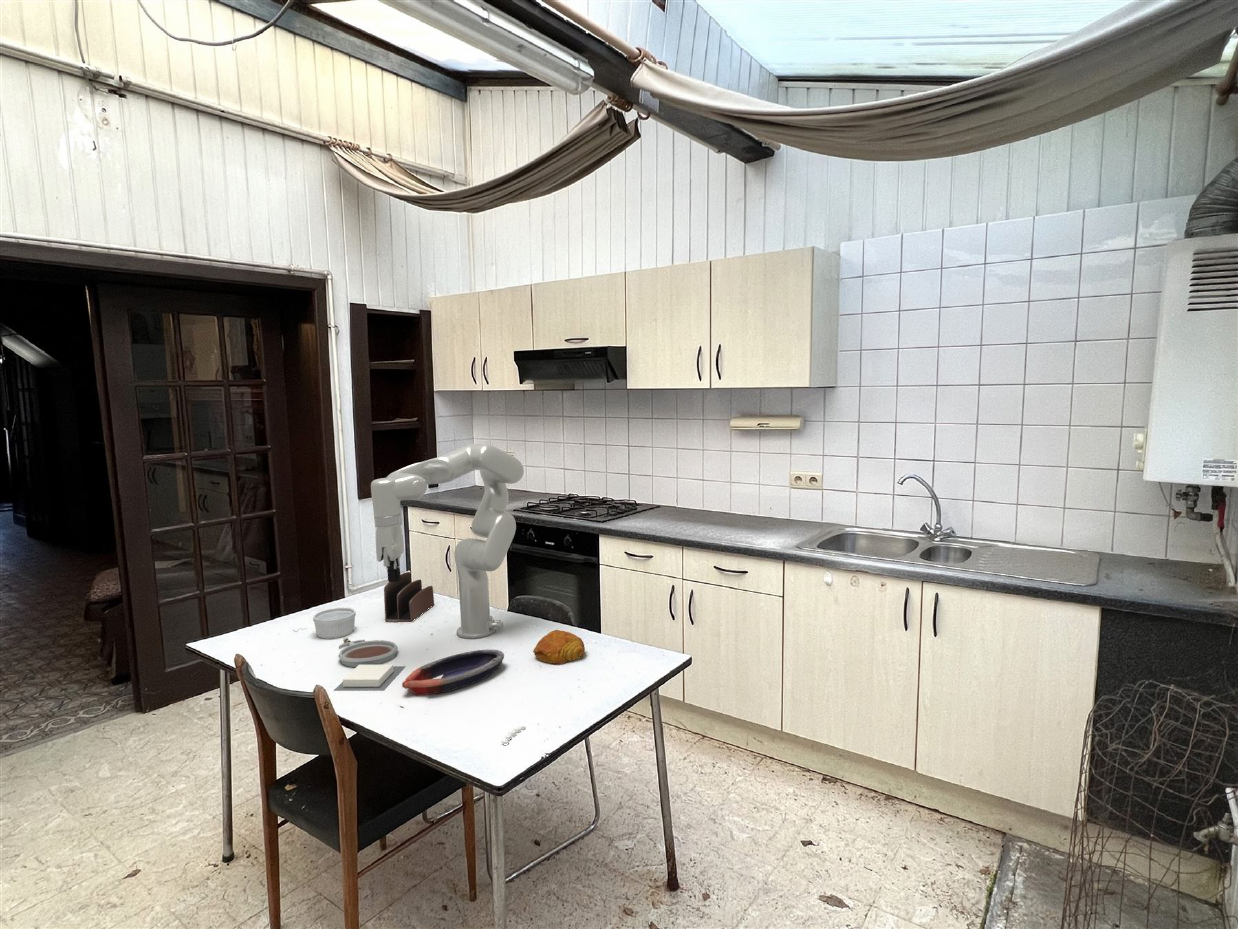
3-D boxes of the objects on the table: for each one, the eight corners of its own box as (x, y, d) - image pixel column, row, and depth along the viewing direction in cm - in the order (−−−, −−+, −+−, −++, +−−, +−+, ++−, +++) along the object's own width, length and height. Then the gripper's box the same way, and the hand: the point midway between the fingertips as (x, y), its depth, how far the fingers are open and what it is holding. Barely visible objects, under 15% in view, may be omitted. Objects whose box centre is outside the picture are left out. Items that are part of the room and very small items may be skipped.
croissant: (561, 649, 213) (559, 624, 213) (594, 655, 202) (591, 629, 202) (524, 662, 203) (521, 635, 204) (556, 669, 192) (553, 641, 192)
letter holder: (384, 622, 237) (382, 583, 236) (410, 605, 257) (407, 568, 255) (411, 623, 236) (409, 584, 234) (434, 605, 255) (432, 569, 254)
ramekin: (365, 630, 229) (363, 610, 228) (330, 643, 218) (328, 622, 217) (340, 624, 236) (339, 605, 236) (306, 636, 225) (304, 616, 225)
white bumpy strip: (522, 722, 163) (523, 716, 162) (538, 728, 161) (538, 722, 161) (485, 752, 149) (485, 746, 149) (501, 759, 147) (502, 753, 147)
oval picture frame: (370, 629, 224) (407, 648, 203) (371, 637, 224) (407, 657, 204) (317, 641, 213) (350, 662, 192) (318, 650, 213) (350, 672, 192)
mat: (406, 667, 197) (405, 666, 196) (384, 692, 181) (384, 690, 181) (359, 668, 197) (359, 666, 197) (333, 692, 181) (333, 690, 181)
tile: (393, 664, 192) (378, 679, 182) (393, 672, 192) (379, 687, 182) (358, 664, 193) (342, 679, 183) (359, 672, 193) (343, 687, 183)
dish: (517, 672, 192) (516, 655, 191) (414, 707, 172) (413, 689, 171) (489, 657, 203) (488, 641, 203) (390, 688, 183) (389, 671, 183)
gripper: (385, 515, 204) (391, 574, 206) (365, 527, 189) (372, 590, 192) (409, 514, 203) (415, 573, 206) (391, 526, 189) (398, 589, 191)
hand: (394, 581), depth 199 cm, fingers closed
